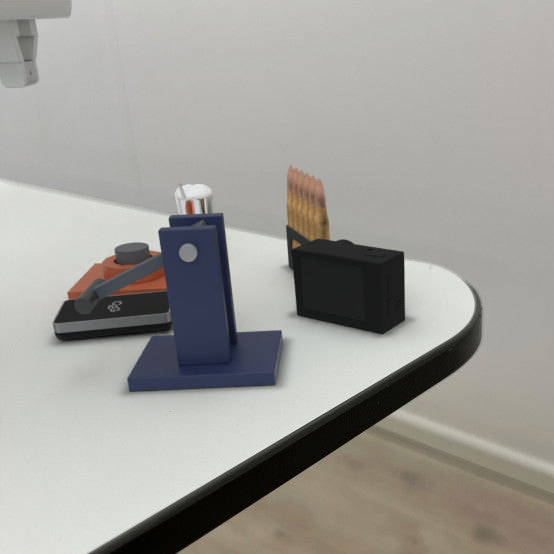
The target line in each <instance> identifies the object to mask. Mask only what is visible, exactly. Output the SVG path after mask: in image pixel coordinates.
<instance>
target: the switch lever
mask: <svg viewBox="0 0 554 554" xmlns="http://www.w3.org/2000/svg"><path fill="white" fill-rule="evenodd" d="M192 226H207V224H206V223H205V221H204V220H201V221H199V222H197V223H195V224H193V225H192ZM161 268H163V261H162V254H161V253H159V254H157V255H155V256H153V257H151V258H149V259H147V260H145V261H143V262H141V263H139V264H137V265H136V266H134V267H132V268H130V269H128V270H126V271H124V272H122V273H120V274H118V275H116V276H114V277H112V278H110V279H108V280H107V281H105V280H104V279H101V278H98V279H95V280H94V281H93V282H92V283H91V284H90V285H89V286H88V287H87V289H86V290H85V291H84V292H83V293H82V294H81V295H80V296H79V297H78V298H77V300H76V301H75V303H74V307H75V309H76V311H77V312H78V313H80V314H88V313H90V312H91V311H92V310H93V308H94V307H95V306H96V305H97V303H98V302H99V301H100V300H101V299H102V298H104V297H106V296H108V295H110V294H112V293H114V292H116V291H118V290H120V289H122V288H124V287H126V286H128V285H129V284H131V283H133V282H135V281H137V280H139V279H141V278H143V277H145V276H147V275H149V274H151V273H153V272H155V271H157V270H159V269H161Z"/></svg>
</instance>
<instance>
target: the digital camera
mask: <svg viewBox="0 0 554 554" xmlns="http://www.w3.org/2000/svg"><path fill="white" fill-rule="evenodd" d="M292 261H293V270H292V272H293V282H294V283H293V284H294V294H295V295H294V296H295V307H296V315H298V316H302V317H306V318H310V319H315V320H319V321H324V322H329V323H333V324H338V325H342V326H346V327H347V326H348V327H351V328H354V329H355V328H356V329H360V330H363V331H369V332H373V333H378V334H383V335H384V334H385V333H386V332H388V331H389V330H391V329H393V328H394V327H396V326H397V325H399V324H400V323H402V322H403V321H405V320H406V284H405V283H406V279H405V277H406V274H405V273H406V271H405V268H406V267H405V252H404V251H403V250H395V249H389V248H383V247H377V246H369V245H363V244H358V243H357V244H356V243H354V242H352V241H351V240H349V239H343V238H342V239H341V238H340V239H338V240H337V239H336V240H331V239H330V240H325V239H315V240H313V241H311V242H308V243H306V244H303V245H301V246H298V247H296V248H293V249H292Z"/></svg>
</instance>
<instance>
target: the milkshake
mask: <svg viewBox="0 0 554 554" xmlns="http://www.w3.org/2000/svg"><path fill="white" fill-rule="evenodd" d="M176 183H177V188H176V190H175V192H174V199H175V204H176V207H177V211H178V215H184V214H207V213H214V204H213V203H214V201H213V200H214V198H213V197H214V195H213V194H214V193H213V190H212V188H210V187H209V186H207V185H206V184H203V183H196V184H190V183H187V184H185V185H182V183H181V182H176Z"/></svg>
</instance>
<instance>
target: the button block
mask: <svg viewBox="0 0 554 554" xmlns="http://www.w3.org/2000/svg"><path fill="white" fill-rule="evenodd" d="M149 251H150V257H153V256H155V255H157V254H159V253H161V251H158V250H157V251H156V250H150V249H149ZM136 265H137V264H134V265H120V264H117V261H116V255H115V254H113V255H110V256H108V257H105V259H104V260H103V261H102V262H97V263H94V264H93V265H92V266H91V267H90V268H89V269H88V270H87V271H86V272H85V273H84V274H83V275H82V276H81V277H80V278H79V280H77V281H76V283H75V284H73V286H72V287H71V288H70V289H69V290H68V291H67V292H66V294H67V298H68V299H67V300H69V299H77V298H78V297H79V296H80V295H81V294H82V293H83V292H84V291H85V290H86V289H87V287H88V286H89V285H90V284H91V283H92V282H93V281H94V280H95V279H98V278H101V279H104V280H105V281H107V280H108V279H110V278H112V277H114V276H116V275H118V274H120V273H122V272H124V271H126V270H128V269H130V268H132V267H134V266H136ZM157 291H167V287H166V280H165V274H164V267H163V268H161V269H159V270H157V271H155V272H153V273H151V274H149V275H147V276H145V277H143V278H141V279H139V280H137V281H135V282H133V283H131V284H129V285H128V286H126V287H124V288H122V289H120V290H118V291H116V292H114V293H112V294H110V295H108V296H112V295H123V294H135V293H146V292H157Z"/></svg>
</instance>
